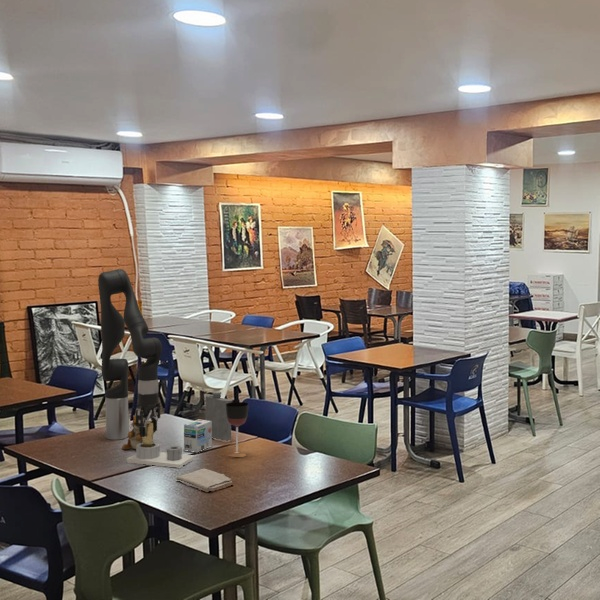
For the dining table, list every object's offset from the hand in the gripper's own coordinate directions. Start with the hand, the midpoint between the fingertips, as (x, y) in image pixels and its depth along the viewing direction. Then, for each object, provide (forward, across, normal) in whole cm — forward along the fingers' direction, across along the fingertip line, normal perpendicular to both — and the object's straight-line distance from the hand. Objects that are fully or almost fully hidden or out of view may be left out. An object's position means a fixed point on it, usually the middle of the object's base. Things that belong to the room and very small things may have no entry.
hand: (148, 433), depth 260 cm
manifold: (+10, 0, +6) cm, 11 cm away
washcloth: (+10, +18, +32) cm, 38 cm away
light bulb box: (+10, -19, +12) cm, 24 cm away
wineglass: (+10, -16, +30) cm, 35 cm away
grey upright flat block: (+10, -35, +13) cm, 39 cm away
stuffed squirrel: (+10, -14, -11) cm, 21 cm away
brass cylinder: (+8, 0, 0) cm, 8 cm away
